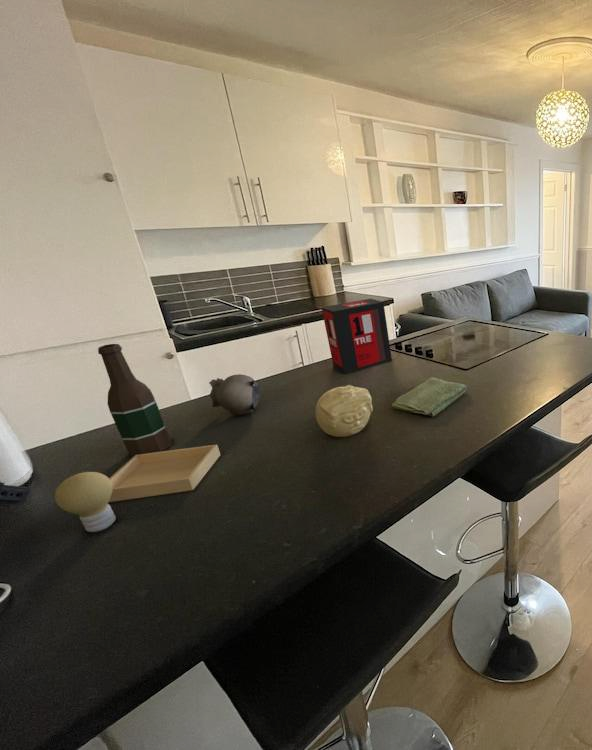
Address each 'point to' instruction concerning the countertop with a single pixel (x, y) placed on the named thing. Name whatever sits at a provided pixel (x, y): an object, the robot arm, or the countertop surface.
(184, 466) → the pale tray
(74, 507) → the light bulb
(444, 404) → the washcloth
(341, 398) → the sculpture
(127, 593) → the countertop surface
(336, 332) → the cleaning product box
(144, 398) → the beer bottle
